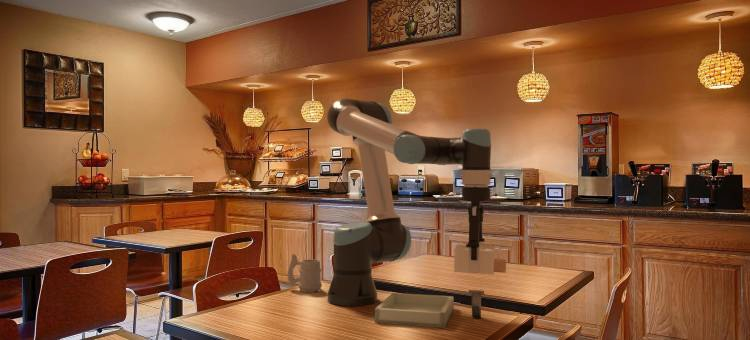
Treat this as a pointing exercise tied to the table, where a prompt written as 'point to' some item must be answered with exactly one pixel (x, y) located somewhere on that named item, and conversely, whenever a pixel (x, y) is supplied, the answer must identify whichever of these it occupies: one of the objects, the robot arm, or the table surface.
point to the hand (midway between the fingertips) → (475, 268)
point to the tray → (415, 310)
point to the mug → (306, 274)
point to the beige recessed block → (486, 260)
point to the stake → (476, 303)
